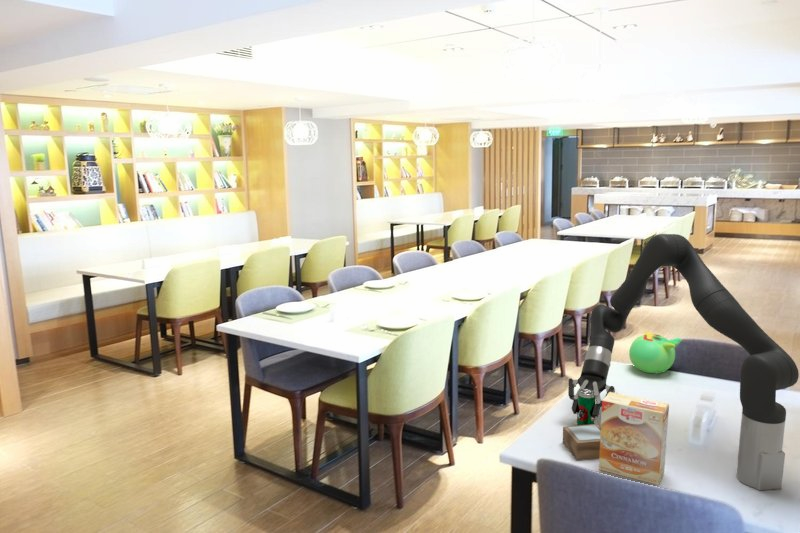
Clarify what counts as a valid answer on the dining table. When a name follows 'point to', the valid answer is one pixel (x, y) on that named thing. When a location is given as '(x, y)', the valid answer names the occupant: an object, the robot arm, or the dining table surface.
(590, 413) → the soda can
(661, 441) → the coffeecake box
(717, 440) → the dining table surface
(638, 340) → the toy bird
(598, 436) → the walnut plinth
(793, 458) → the dining table surface
